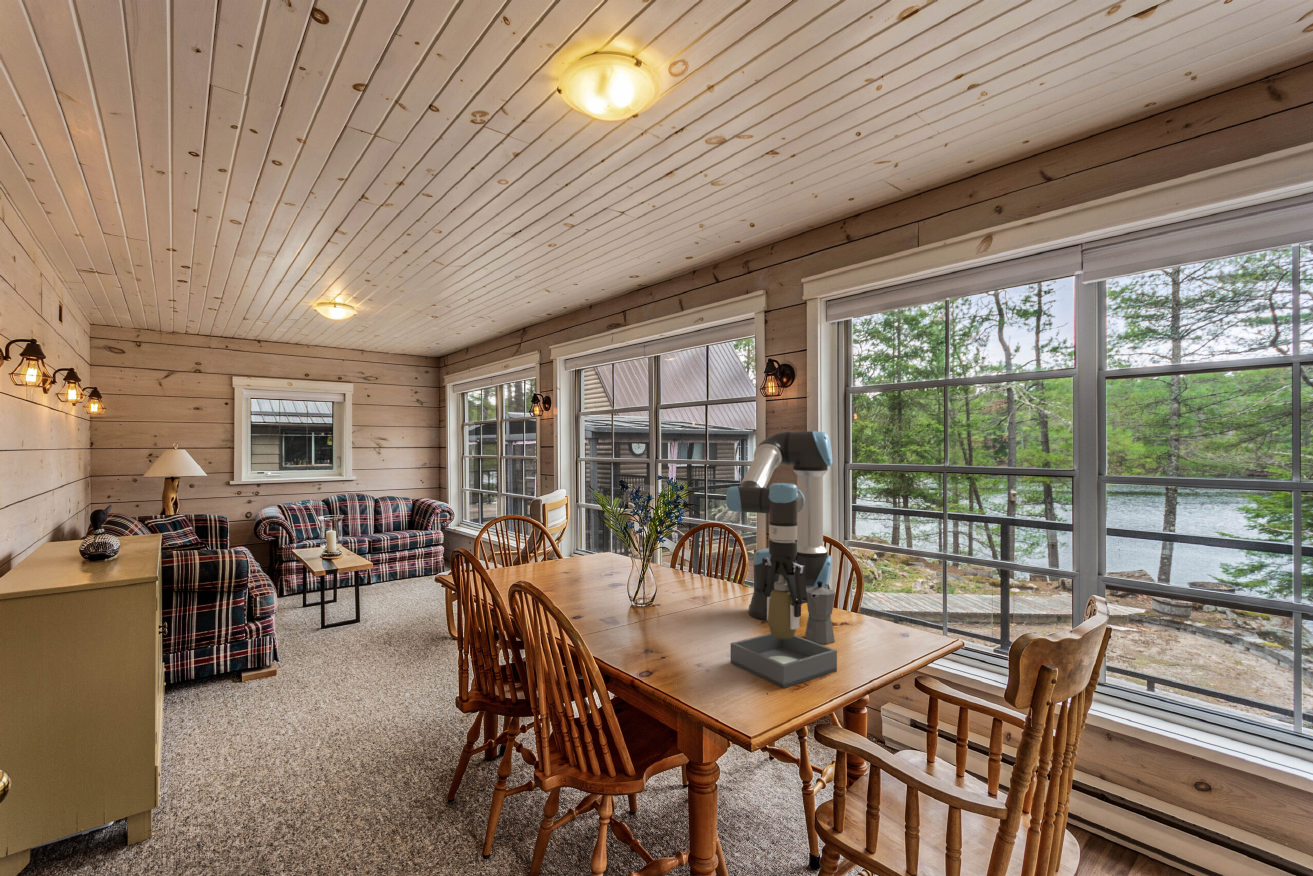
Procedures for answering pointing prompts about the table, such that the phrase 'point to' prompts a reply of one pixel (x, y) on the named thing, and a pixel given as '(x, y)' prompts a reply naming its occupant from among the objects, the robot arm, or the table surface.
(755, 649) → the bin
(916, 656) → the table surface
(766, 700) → the table surface
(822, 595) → the coffeepot
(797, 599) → the robot arm
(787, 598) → the squeeze bottle
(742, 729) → the table surface
